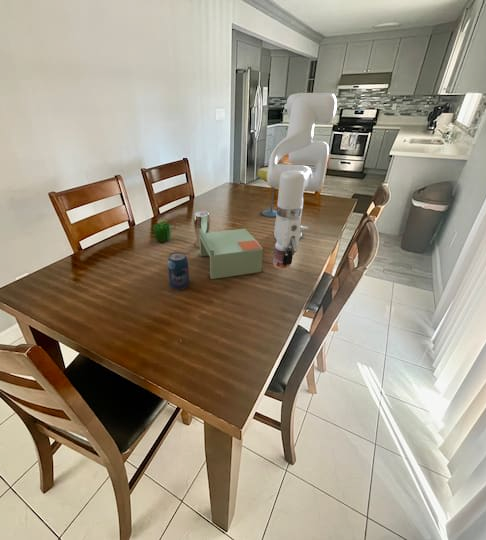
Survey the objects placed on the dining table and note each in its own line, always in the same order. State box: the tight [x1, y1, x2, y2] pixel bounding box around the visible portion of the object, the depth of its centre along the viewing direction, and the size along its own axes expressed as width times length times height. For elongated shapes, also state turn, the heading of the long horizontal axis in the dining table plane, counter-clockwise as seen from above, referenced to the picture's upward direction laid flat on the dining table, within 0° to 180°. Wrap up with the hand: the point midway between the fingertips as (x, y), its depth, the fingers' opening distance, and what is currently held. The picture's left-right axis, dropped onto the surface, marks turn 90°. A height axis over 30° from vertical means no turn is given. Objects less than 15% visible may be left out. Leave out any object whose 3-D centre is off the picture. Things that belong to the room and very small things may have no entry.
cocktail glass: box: [257, 164, 277, 218], centre depth 163 cm, size 18×18×25 cm
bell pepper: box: [152, 219, 172, 243], centre depth 136 cm, size 8×8×10 cm
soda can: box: [167, 251, 190, 291], centre depth 103 cm, size 7×7×12 cm
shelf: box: [199, 228, 264, 280], centre depth 117 cm, size 20×20×12 cm
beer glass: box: [193, 210, 211, 249], centre depth 130 cm, size 7×7×15 cm
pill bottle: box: [272, 236, 292, 270], centre depth 102 cm, size 6×6×11 cm
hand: (282, 259), depth 104 cm, fingers closed on pill bottle, 6 cm apart
